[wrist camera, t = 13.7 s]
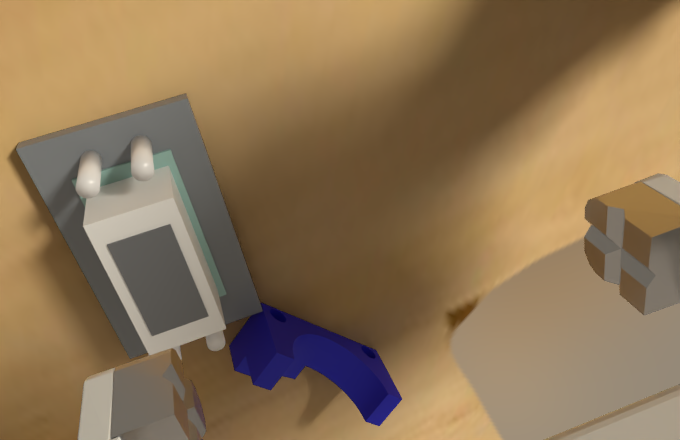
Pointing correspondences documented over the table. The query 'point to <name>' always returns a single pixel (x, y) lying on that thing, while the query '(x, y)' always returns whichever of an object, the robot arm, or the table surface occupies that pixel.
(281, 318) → the cable clip
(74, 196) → the pin tray
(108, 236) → the block
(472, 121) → the table surface
